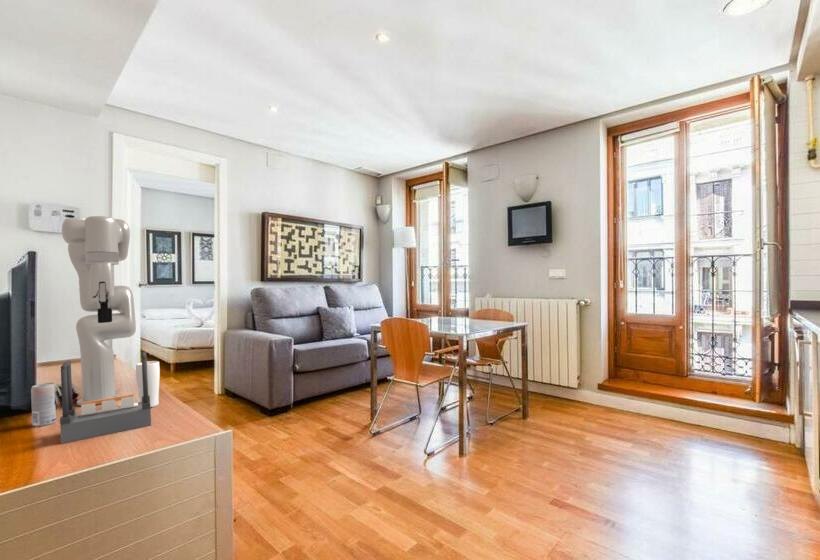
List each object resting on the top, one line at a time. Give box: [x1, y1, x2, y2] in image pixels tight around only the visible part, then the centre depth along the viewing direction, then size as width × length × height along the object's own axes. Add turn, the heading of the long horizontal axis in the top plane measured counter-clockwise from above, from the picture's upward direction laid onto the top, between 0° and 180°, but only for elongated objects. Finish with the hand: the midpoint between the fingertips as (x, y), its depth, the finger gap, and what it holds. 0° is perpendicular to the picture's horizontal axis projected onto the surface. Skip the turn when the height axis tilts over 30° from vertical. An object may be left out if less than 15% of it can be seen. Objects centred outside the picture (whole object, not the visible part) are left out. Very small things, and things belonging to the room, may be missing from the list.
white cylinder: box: [135, 360, 161, 409], centre depth 135 cm, size 7×7×15 cm
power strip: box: [59, 401, 152, 444], centre depth 114 cm, size 10×20×5 cm, turn 125°
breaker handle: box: [77, 393, 139, 417], centre depth 114 cm, size 2×14×4 cm, turn 124°
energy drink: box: [30, 382, 57, 428], centre depth 121 cm, size 5×5×12 cm
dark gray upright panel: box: [59, 360, 76, 425], centre depth 109 cm, size 10×2×16 cm, turn 35°
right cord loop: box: [141, 351, 151, 410], centre depth 119 cm, size 10×2×16 cm, turn 35°
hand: (105, 322), depth 114 cm, fingers closed
